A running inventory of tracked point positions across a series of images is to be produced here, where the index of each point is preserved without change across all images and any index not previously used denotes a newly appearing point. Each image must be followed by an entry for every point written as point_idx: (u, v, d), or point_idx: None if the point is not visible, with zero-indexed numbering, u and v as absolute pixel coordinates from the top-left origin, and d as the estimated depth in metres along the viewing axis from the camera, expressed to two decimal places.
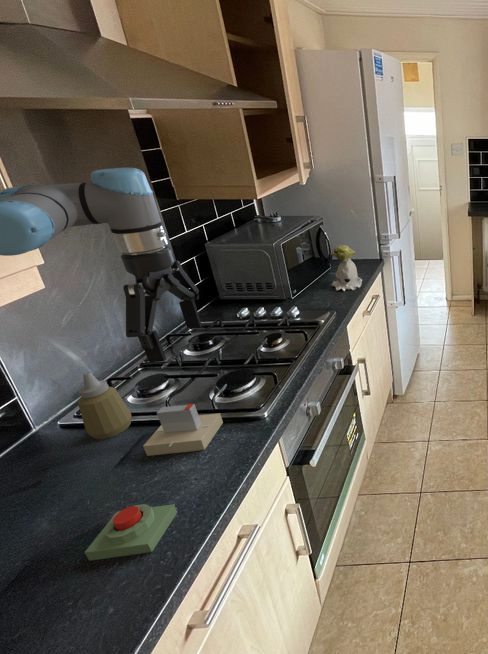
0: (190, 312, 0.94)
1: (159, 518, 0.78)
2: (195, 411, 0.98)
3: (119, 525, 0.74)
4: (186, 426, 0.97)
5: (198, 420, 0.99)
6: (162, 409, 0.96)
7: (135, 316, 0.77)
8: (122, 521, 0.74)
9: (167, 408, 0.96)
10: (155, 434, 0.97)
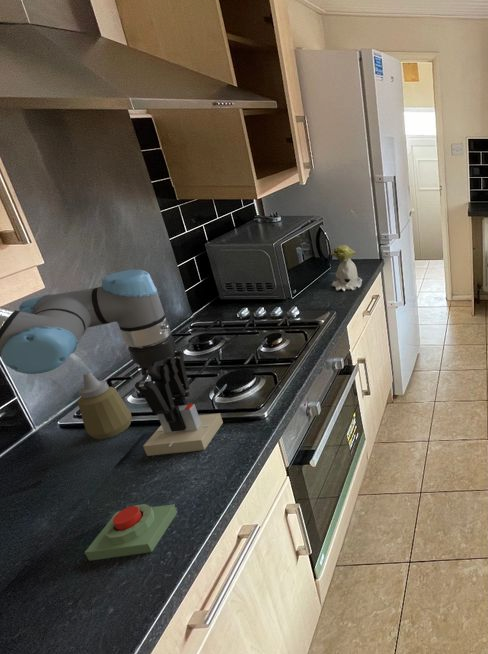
0: None
1: (159, 518, 0.78)
2: (195, 411, 0.98)
3: (119, 525, 0.74)
4: (186, 426, 0.97)
5: (198, 420, 0.99)
6: None
7: (156, 402, 0.90)
8: (122, 521, 0.74)
9: None
10: (155, 434, 0.97)
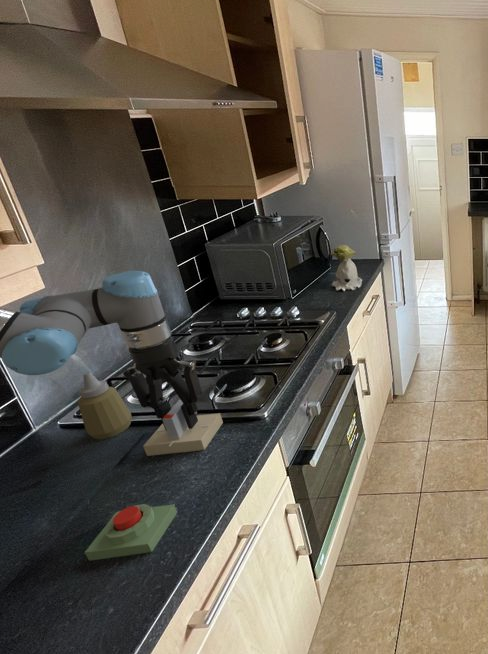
0: None
1: (159, 518, 0.78)
2: (170, 424, 0.94)
3: (119, 525, 0.74)
4: None
5: (174, 433, 0.95)
6: None
7: None
8: (122, 521, 0.74)
9: (180, 403, 0.98)
10: (155, 434, 0.97)
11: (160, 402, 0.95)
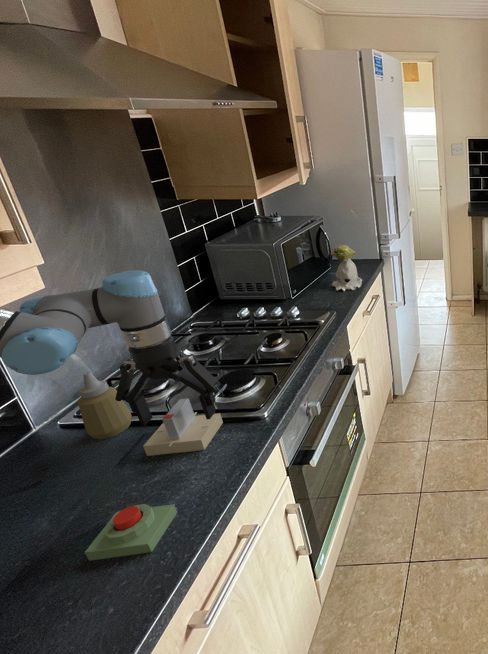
0: None
1: (159, 518, 0.78)
2: (170, 424, 0.94)
3: (119, 525, 0.74)
4: None
5: (174, 433, 0.95)
6: (183, 400, 0.99)
7: None
8: (122, 521, 0.74)
9: (180, 403, 0.98)
10: (155, 434, 0.97)
11: (135, 397, 0.94)
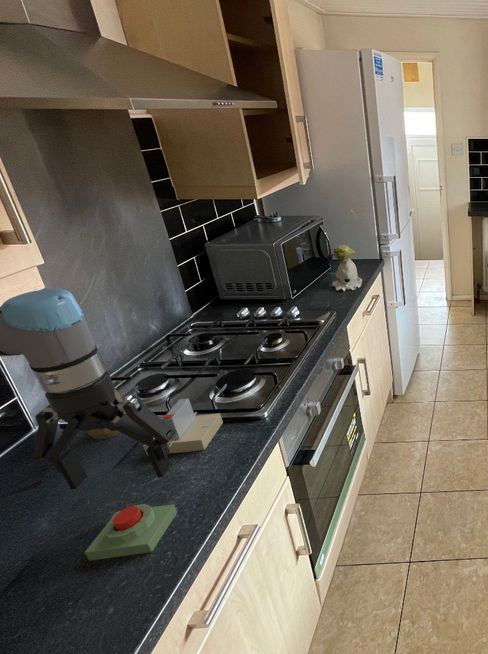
0: None
1: (159, 518, 0.78)
2: (170, 424, 0.94)
3: (119, 525, 0.74)
4: None
5: None
6: (183, 400, 0.99)
7: None
8: (122, 521, 0.74)
9: (180, 403, 0.98)
10: None
11: (61, 453, 0.72)
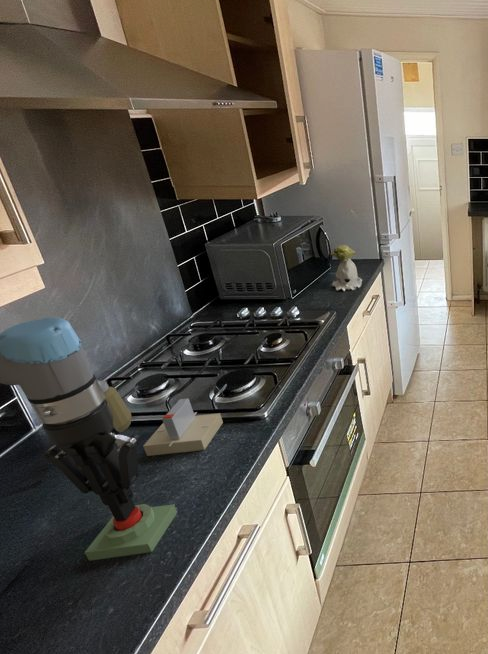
0: None
1: (159, 518, 0.78)
2: (170, 424, 0.94)
3: (119, 525, 0.74)
4: None
5: (174, 433, 0.95)
6: (183, 400, 0.99)
7: None
8: (122, 521, 0.74)
9: (180, 403, 0.98)
10: (155, 434, 0.97)
11: (107, 484, 0.73)
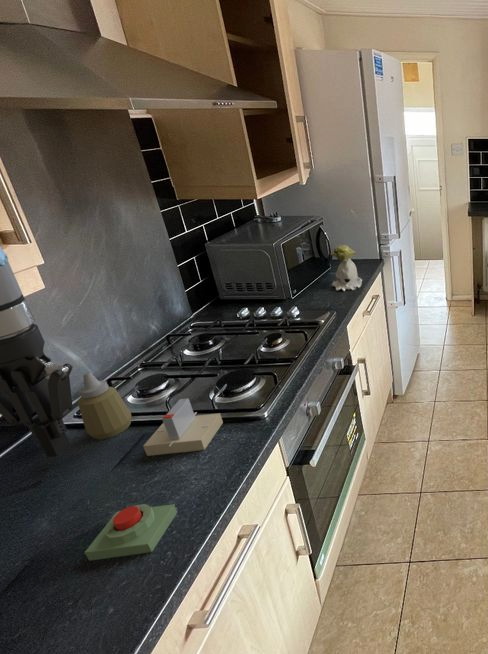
0: None
1: (159, 518, 0.78)
2: (170, 424, 0.94)
3: (119, 525, 0.74)
4: None
5: (174, 433, 0.95)
6: (183, 400, 0.99)
7: None
8: (122, 521, 0.74)
9: (180, 403, 0.98)
10: (155, 434, 0.97)
11: (38, 417, 0.69)
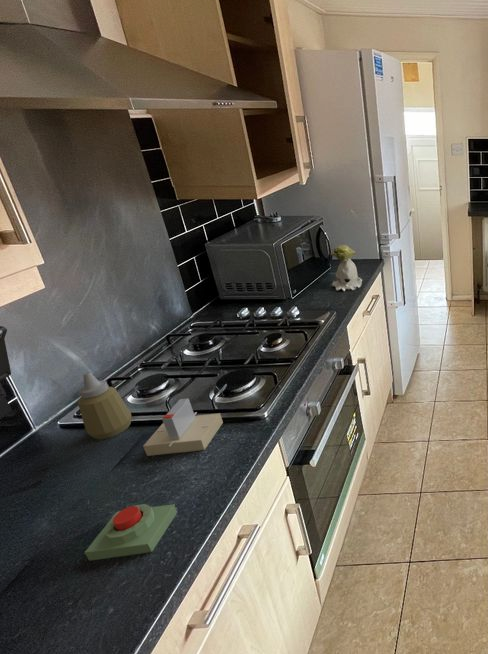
0: None
1: (159, 518, 0.78)
2: (170, 424, 0.94)
3: (119, 525, 0.74)
4: None
5: (174, 433, 0.95)
6: (183, 400, 0.99)
7: None
8: (122, 521, 0.74)
9: (180, 403, 0.98)
10: (155, 434, 0.97)
11: None
